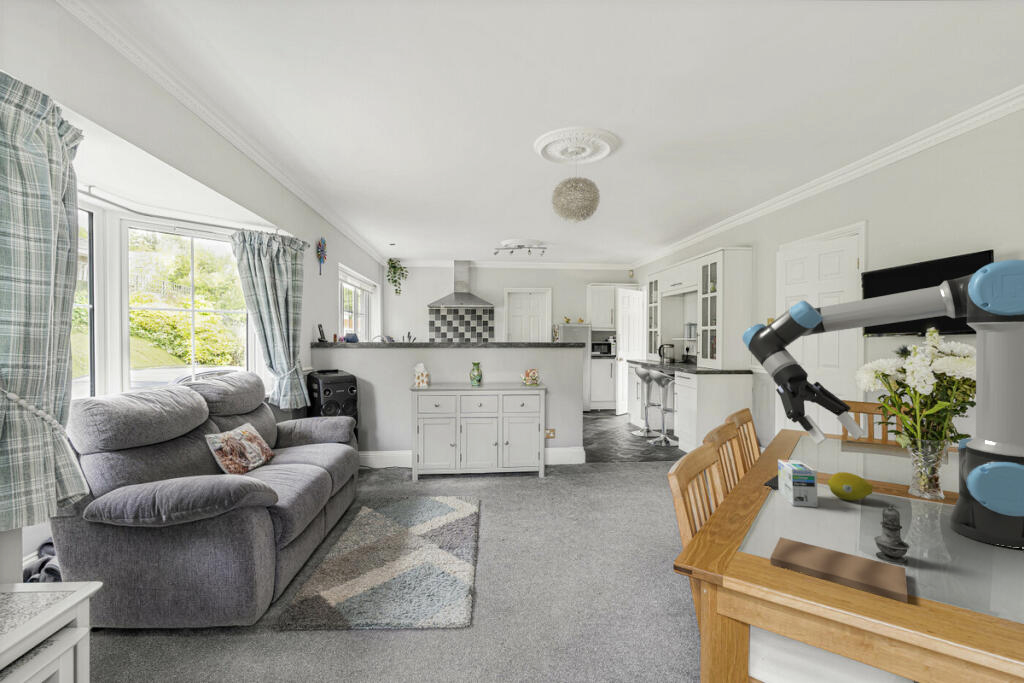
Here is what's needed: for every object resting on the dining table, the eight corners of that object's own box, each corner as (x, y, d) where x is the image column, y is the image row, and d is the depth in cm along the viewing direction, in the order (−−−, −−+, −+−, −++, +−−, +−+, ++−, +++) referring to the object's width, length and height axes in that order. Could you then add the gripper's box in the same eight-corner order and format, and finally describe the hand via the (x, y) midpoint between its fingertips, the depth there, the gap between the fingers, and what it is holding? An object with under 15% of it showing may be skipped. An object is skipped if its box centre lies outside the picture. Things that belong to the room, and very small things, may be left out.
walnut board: (905, 575, 89) (904, 567, 89) (907, 603, 80) (907, 595, 80) (780, 543, 103) (780, 537, 103) (770, 564, 94) (770, 557, 94)
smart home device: (762, 483, 140) (783, 470, 154) (762, 488, 140) (783, 474, 154) (791, 489, 134) (810, 475, 147) (791, 495, 134) (811, 480, 147)
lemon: (822, 497, 131) (822, 471, 131) (833, 492, 135) (833, 466, 135) (866, 509, 122) (866, 480, 122) (877, 502, 126) (876, 475, 126)
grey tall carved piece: (873, 549, 99) (873, 497, 99) (908, 557, 96) (907, 503, 96) (874, 559, 95) (873, 505, 95) (910, 568, 91) (910, 511, 91)
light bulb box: (818, 507, 123) (818, 470, 123) (792, 506, 125) (791, 469, 125) (801, 494, 134) (800, 459, 134) (777, 493, 135) (776, 458, 135)
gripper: (808, 378, 125) (863, 442, 112) (742, 381, 117) (793, 451, 103) (827, 361, 120) (888, 426, 106) (759, 363, 112) (816, 434, 98)
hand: (841, 439), depth 105 cm, fingers open, 13 cm apart
